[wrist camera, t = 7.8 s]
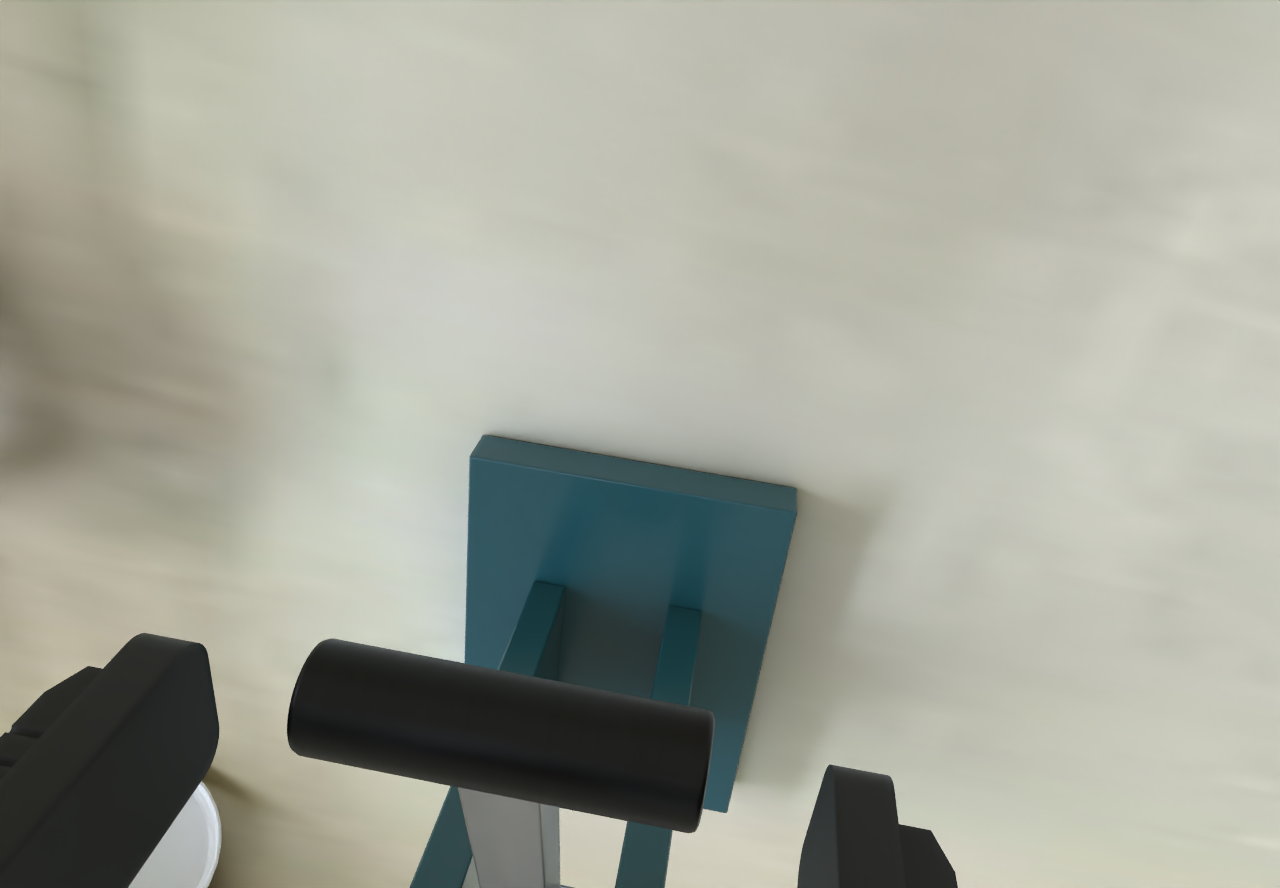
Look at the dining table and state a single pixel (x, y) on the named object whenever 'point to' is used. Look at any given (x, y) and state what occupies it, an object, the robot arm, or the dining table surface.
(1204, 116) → the dining table surface
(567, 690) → the lever
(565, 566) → the bracket
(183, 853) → the spread jar
